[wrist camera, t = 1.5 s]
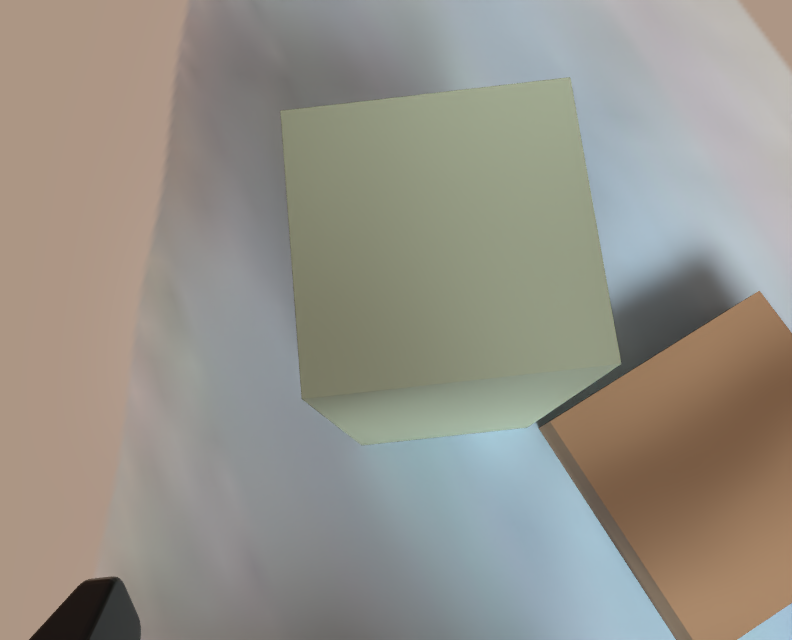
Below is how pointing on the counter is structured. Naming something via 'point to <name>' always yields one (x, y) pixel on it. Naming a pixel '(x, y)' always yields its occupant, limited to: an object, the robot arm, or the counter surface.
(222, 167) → the counter surface
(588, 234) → the sage block
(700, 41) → the counter surface
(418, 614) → the counter surface
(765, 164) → the counter surface
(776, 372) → the tan slab
